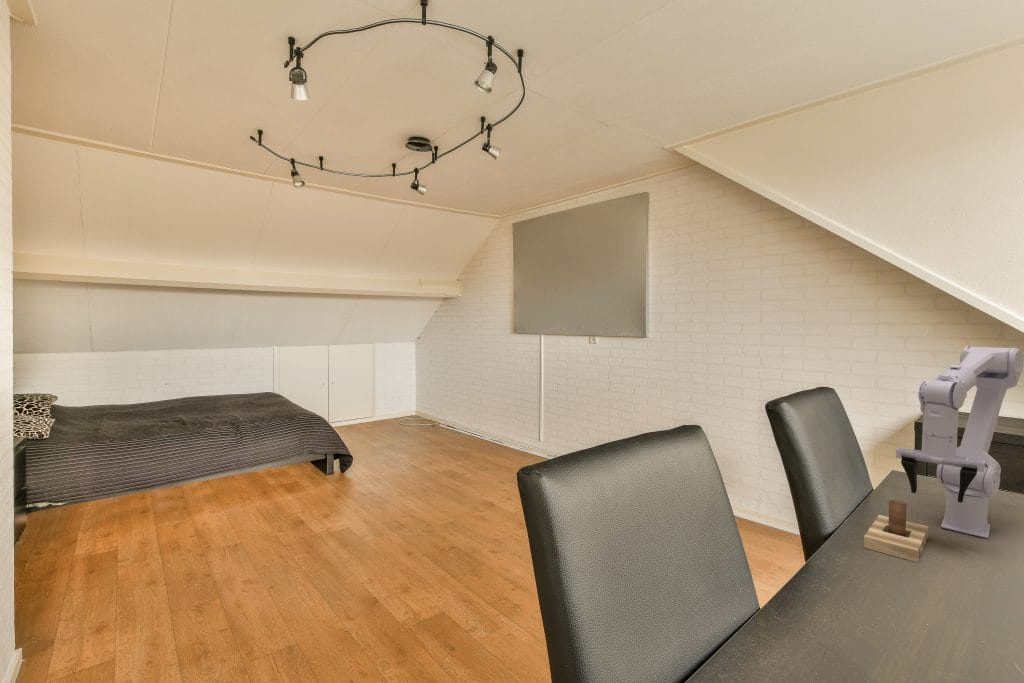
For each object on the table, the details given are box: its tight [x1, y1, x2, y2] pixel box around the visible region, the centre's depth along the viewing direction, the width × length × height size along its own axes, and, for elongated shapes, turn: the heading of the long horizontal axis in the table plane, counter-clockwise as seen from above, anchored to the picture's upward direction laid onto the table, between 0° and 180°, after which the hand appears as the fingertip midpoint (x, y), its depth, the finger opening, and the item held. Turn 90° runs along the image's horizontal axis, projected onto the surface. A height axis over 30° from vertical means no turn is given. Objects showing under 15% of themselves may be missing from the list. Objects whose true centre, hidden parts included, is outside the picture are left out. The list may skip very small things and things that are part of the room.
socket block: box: [863, 514, 929, 563], centre depth 107 cm, size 16×9×2 cm, turn 134°
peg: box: [888, 499, 908, 537], centre depth 107 cm, size 3×3×9 cm
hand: (936, 496), depth 106 cm, fingers open, 7 cm apart
